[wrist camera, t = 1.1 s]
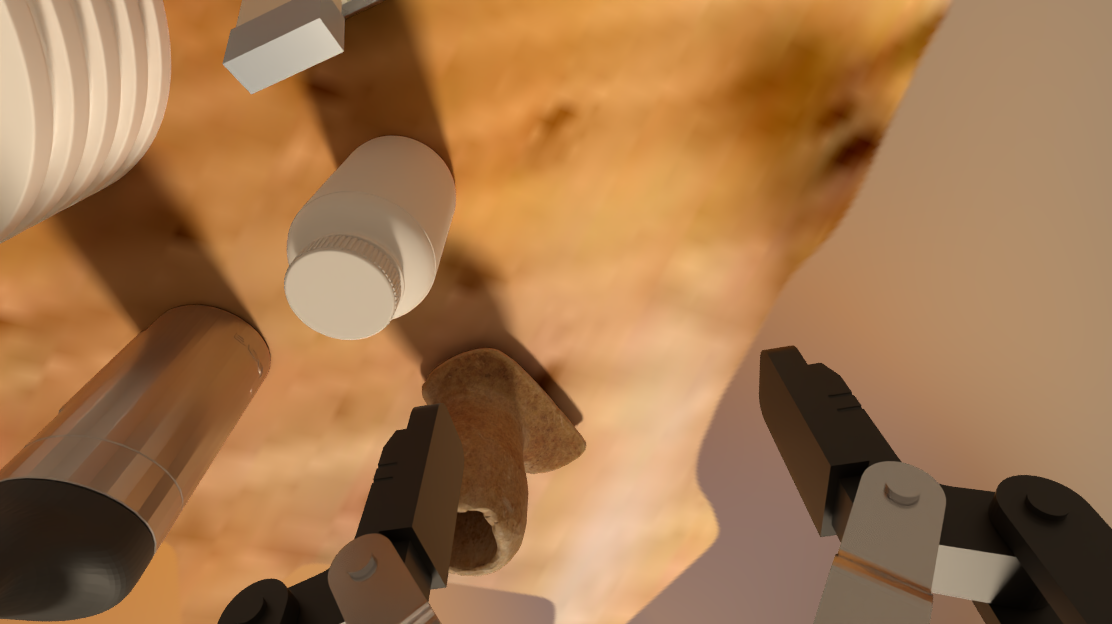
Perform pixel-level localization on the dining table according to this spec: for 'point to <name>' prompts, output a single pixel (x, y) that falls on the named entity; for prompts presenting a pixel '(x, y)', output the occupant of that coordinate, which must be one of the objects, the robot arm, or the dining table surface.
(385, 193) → the pill bottle
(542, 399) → the brown boot
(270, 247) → the dining table surface
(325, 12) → the lever slate
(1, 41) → the plate stack
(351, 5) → the switch strip
